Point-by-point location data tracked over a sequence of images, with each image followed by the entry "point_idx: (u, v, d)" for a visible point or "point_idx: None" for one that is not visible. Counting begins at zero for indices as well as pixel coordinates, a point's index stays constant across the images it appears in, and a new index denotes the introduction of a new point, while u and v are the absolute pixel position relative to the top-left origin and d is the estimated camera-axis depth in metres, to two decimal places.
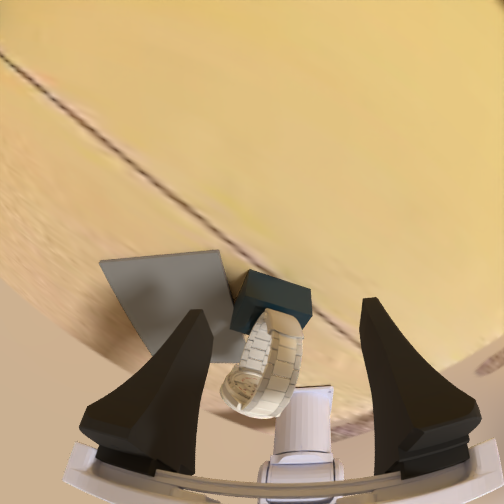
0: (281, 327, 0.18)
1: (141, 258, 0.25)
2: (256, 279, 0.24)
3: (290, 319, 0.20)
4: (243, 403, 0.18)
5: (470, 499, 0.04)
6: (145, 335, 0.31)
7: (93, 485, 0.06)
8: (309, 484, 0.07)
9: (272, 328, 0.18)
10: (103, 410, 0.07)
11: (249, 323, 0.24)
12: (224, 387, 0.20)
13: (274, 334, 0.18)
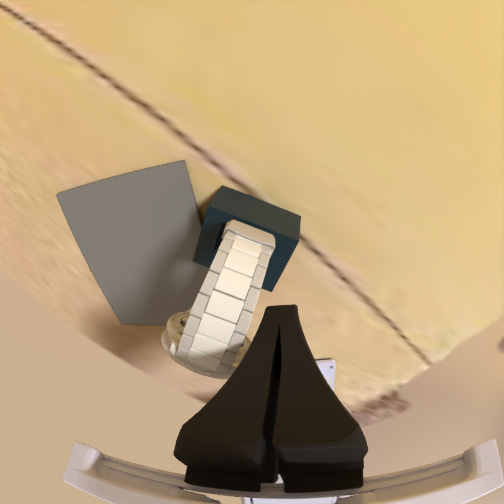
0: (241, 229, 0.13)
1: (98, 181, 0.19)
2: (229, 195, 0.18)
3: (261, 230, 0.14)
4: None
5: (470, 499, 0.04)
6: (108, 289, 0.25)
7: (93, 485, 0.06)
8: None
9: (227, 229, 0.13)
10: (208, 428, 0.07)
11: None
12: None
13: (227, 233, 0.12)
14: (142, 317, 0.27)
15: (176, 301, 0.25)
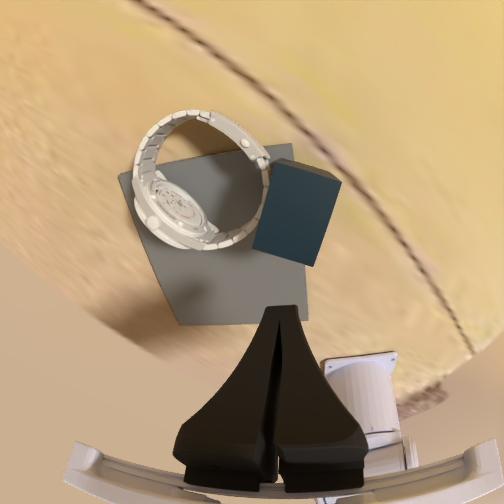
0: (224, 116, 0.15)
1: (181, 160, 0.18)
2: (315, 168, 0.17)
3: (245, 132, 0.15)
4: (157, 175, 0.18)
5: (470, 499, 0.04)
6: (170, 286, 0.24)
7: (93, 485, 0.06)
8: None
9: None
10: (207, 428, 0.07)
11: None
12: None
13: None
14: (207, 316, 0.26)
15: (253, 297, 0.24)
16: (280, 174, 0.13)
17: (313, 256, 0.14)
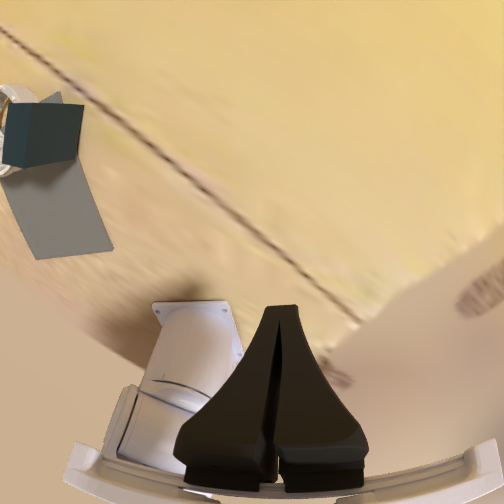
0: (19, 85, 0.15)
1: None
2: None
3: (19, 91, 0.14)
4: None
5: (470, 499, 0.04)
6: (22, 222, 0.24)
7: (93, 485, 0.06)
8: None
9: (22, 86, 0.16)
10: (207, 428, 0.07)
11: None
12: None
13: None
14: (47, 249, 0.26)
15: (66, 227, 0.24)
16: (10, 110, 0.13)
17: (23, 160, 0.14)
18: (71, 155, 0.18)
